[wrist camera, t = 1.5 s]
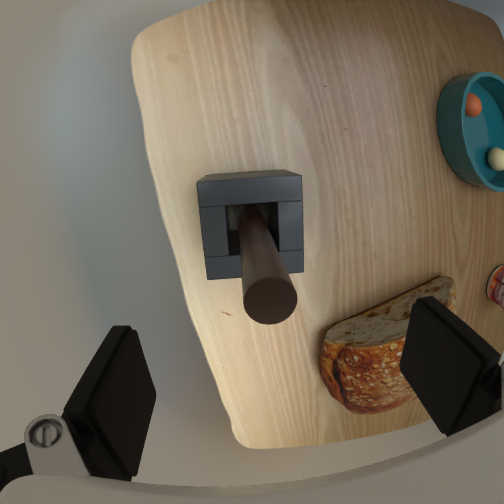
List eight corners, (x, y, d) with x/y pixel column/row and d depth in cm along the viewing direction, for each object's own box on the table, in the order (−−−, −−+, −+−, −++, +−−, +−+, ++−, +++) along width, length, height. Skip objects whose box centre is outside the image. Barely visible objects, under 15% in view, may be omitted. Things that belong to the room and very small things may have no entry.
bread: (444, 268, 35) (490, 299, 25) (437, 364, 41) (466, 401, 31) (306, 315, 35) (328, 368, 26) (324, 408, 41) (340, 457, 32)
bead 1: (453, 91, 27) (468, 88, 24) (469, 96, 27) (485, 94, 24) (455, 115, 28) (471, 114, 25) (471, 119, 28) (487, 118, 25)
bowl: (430, 65, 26) (454, 58, 21) (501, 90, 27) (524, 88, 22) (437, 183, 31) (462, 189, 26) (505, 188, 32) (528, 194, 27)
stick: (236, 200, 31) (241, 279, 12) (258, 199, 31) (297, 275, 12) (238, 221, 31) (245, 327, 12) (259, 219, 31) (297, 322, 12)
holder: (206, 175, 30) (196, 182, 22) (284, 169, 30) (302, 174, 22) (213, 250, 32) (207, 280, 25) (287, 244, 32) (303, 272, 25)
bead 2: (483, 145, 29) (499, 147, 26) (496, 148, 29) (511, 149, 26) (483, 168, 30) (499, 171, 27) (496, 170, 30) (511, 173, 27)
